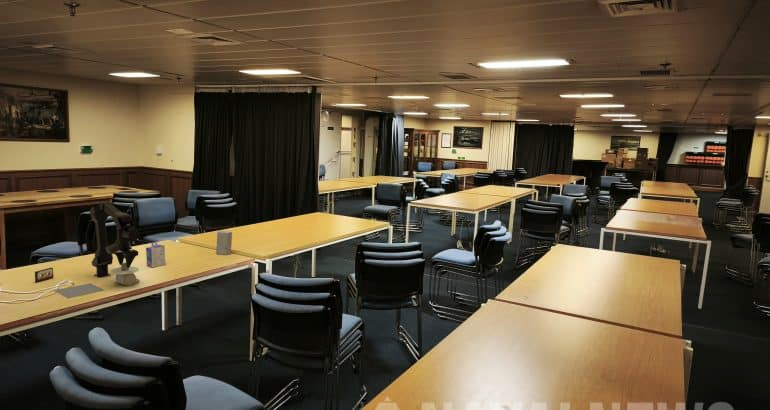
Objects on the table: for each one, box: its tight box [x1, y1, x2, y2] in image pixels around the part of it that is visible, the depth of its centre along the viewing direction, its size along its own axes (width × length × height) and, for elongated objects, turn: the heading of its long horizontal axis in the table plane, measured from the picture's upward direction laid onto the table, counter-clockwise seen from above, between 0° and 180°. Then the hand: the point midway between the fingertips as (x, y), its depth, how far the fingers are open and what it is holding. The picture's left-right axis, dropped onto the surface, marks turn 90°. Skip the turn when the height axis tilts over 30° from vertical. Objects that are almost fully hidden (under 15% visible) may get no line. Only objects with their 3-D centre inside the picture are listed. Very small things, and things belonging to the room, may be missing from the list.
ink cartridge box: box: [145, 241, 166, 268], centre depth 288 cm, size 10×6×14 cm, turn 155°
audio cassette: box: [34, 267, 55, 283], centre depth 251 cm, size 9×1×6 cm, turn 164°
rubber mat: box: [54, 282, 106, 299], centre depth 237 cm, size 17×17×1 cm
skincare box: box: [215, 230, 233, 256], centre depth 324 cm, size 8×7×16 cm
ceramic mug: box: [115, 273, 140, 287], centre depth 252 cm, size 11×8×8 cm
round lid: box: [110, 262, 140, 275], centre depth 250 cm, size 13×13×4 cm
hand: (124, 266), depth 249 cm, fingers open, 8 cm apart
